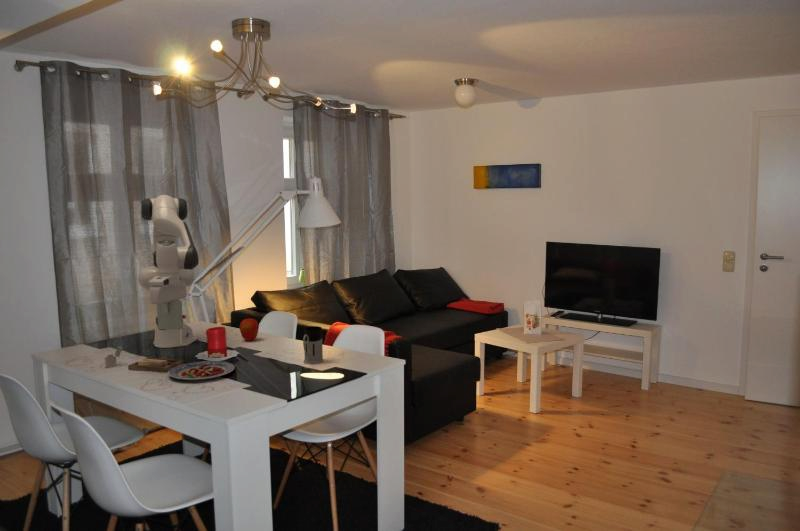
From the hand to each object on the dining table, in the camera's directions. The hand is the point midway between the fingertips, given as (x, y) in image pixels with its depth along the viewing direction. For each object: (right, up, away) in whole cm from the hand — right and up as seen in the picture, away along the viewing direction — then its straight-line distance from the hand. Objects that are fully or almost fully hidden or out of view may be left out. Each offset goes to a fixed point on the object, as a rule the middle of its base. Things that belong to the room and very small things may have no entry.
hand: (169, 311), depth 263 cm
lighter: (-26, -24, +6) cm, 36 cm away
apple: (+21, -18, +51) cm, 58 cm away
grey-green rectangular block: (0, -7, +1) cm, 7 cm away
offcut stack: (-8, -24, +2) cm, 26 cm away
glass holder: (+58, -23, +8) cm, 63 cm away
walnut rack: (-7, -24, +4) cm, 25 cm away
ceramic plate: (+16, -25, -7) cm, 31 cm away
